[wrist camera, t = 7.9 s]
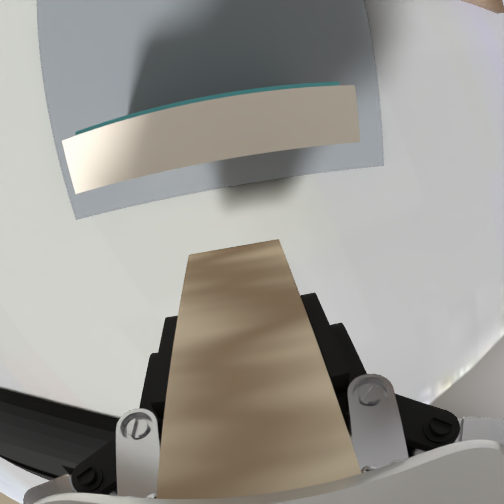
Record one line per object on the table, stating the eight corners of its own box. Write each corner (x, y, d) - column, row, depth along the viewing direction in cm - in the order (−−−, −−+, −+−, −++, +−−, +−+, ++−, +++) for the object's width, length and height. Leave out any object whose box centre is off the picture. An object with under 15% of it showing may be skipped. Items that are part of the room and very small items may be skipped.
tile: (299, 88, 16) (354, 80, 9) (304, 124, 17) (360, 142, 10) (125, 120, 16) (61, 136, 9) (133, 155, 17) (75, 194, 10)
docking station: (-67, 358, 25) (-81, 379, 21) (191, 419, 30) (189, 458, 26) (-3, 447, 36) (-10, 466, 31) (197, 492, 41) (198, 516, 36)
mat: (343, -56, 12) (347, -61, 11) (378, 163, 19) (383, 165, 18) (42, 0, 12) (36, -2, 11) (80, 215, 19) (76, 219, 18)
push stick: (278, 239, 14) (367, 493, 4) (287, 310, 16) (346, 528, 6) (188, 254, 14) (155, 518, 4) (208, 324, 16) (208, 547, 6)
